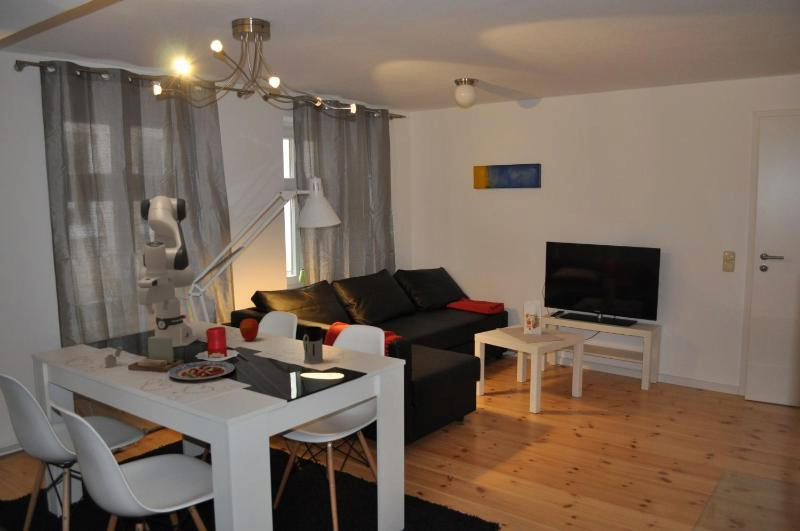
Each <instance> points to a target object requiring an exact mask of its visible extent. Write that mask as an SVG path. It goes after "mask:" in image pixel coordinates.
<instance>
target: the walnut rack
mask: <svg viewBox="0 0 800 531" xmlns="http://www.w3.org/2000/svg"><path fill="white" fill-rule="evenodd" d="M143 359H149V357H145V358H143ZM143 359H141V360H143ZM173 361H174V363H172V362H167V366H166V367H157V366H144V365H139V364H137V361H134V362H133V363H130V364H128V365H127V367H128V370H129V371H130V370H131V371H141V372H151V371H152V373H154V372H155V373H164V372H166V373H168V372H169V371H170V370H171V369H173V368H175V367H177V366H180V365H184V364H185V363H184V359H174V358H173Z"/></svg>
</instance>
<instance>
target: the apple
mask: <svg viewBox="0 0 800 531" xmlns="http://www.w3.org/2000/svg"><path fill="white" fill-rule="evenodd" d="M259 327H260V325H259V323H258V321H257V320H256V319H255V318H244V319H243V320H242V321H241V322H240V324H239V332H240V334H241V337H242V338H243V339H244V340H245V341H247V342H253V341H254V340H255V339H256V338H257V336H258V333H259V329H260V328H259Z"/></svg>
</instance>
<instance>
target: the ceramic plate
mask: <svg viewBox="0 0 800 531" xmlns="http://www.w3.org/2000/svg"><path fill="white" fill-rule="evenodd" d="M234 369H235V366H234V364H232V363H230V362H226V361H219V360H216V361H215V360H209V361H208V360H206V361H195V362H189V363H184V365H180V366H177V367H175V368H173V369H171V370H170V371H168V372H167V373H168V376H170V377H172V378H174V379H177V380H186V381H206V380H211V379H216V378H218V377H222V376H224V375H227V374H230V373H231V372H233V371H234Z"/></svg>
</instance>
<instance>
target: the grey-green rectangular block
mask: <svg viewBox="0 0 800 531" xmlns="http://www.w3.org/2000/svg"><path fill="white" fill-rule="evenodd" d="M147 346H148V358H149V359H152V360H165V361H167V362H172V363H174V361H173V359H174V347H173V341H172V338H169V337H155V336H150V337H148V338H147Z"/></svg>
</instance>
